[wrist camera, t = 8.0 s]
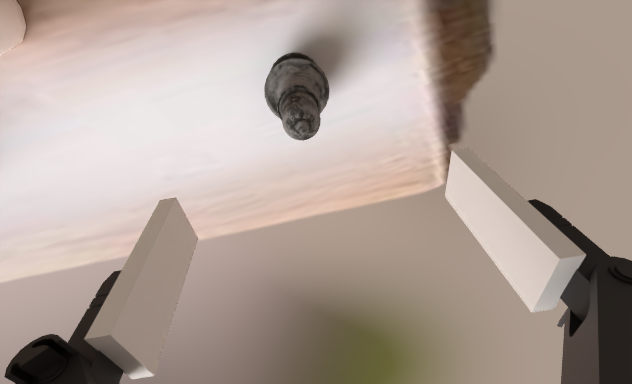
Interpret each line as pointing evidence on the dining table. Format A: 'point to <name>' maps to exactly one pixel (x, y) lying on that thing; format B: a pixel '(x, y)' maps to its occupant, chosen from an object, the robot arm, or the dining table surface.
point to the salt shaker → (297, 94)
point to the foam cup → (11, 25)
